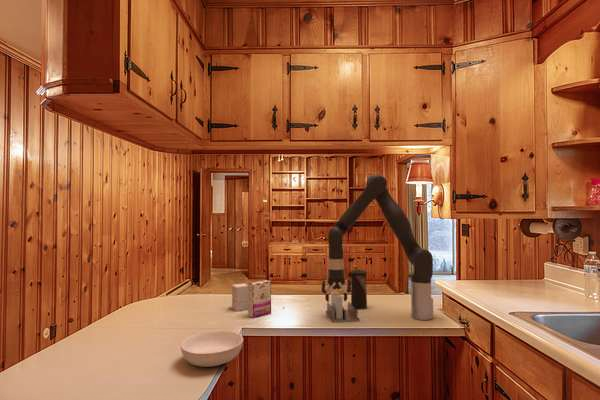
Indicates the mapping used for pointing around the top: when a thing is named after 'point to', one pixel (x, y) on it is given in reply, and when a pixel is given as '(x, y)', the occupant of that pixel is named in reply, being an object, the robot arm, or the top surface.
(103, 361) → the top surface
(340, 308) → the dish slab
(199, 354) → the serving bowl
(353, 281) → the container
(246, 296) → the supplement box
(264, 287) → the candy bar box
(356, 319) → the dish rack
